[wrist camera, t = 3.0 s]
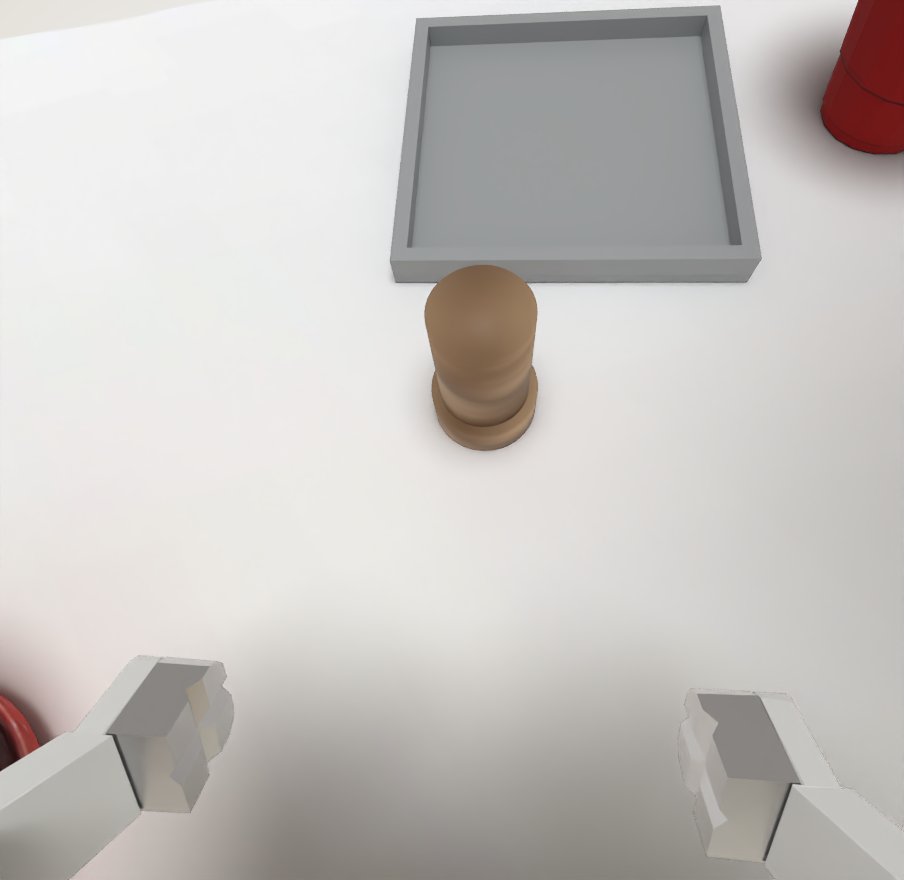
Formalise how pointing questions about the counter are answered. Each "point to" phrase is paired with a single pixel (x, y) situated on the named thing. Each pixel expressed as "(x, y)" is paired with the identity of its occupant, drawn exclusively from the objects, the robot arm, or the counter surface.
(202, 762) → the robot arm
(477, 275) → the walnut pestle
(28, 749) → the plant pot
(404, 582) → the counter surface
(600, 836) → the counter surface
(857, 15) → the plastic cup
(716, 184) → the grey tray
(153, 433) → the counter surface
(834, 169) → the counter surface
